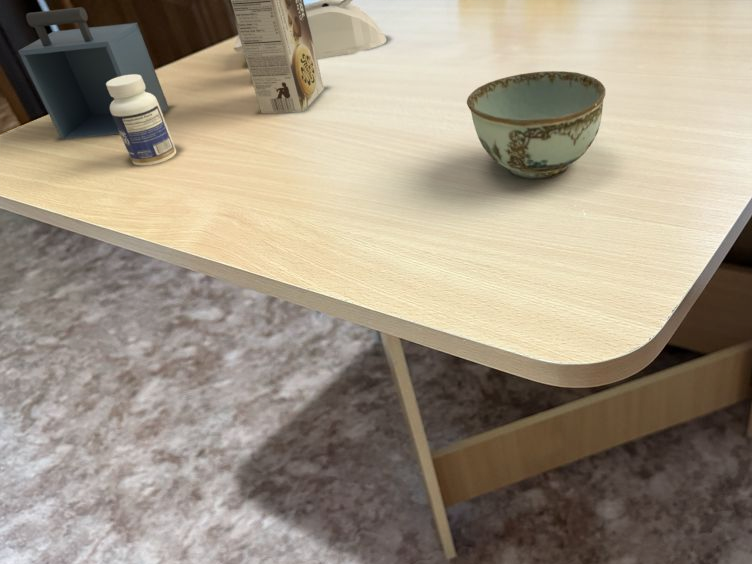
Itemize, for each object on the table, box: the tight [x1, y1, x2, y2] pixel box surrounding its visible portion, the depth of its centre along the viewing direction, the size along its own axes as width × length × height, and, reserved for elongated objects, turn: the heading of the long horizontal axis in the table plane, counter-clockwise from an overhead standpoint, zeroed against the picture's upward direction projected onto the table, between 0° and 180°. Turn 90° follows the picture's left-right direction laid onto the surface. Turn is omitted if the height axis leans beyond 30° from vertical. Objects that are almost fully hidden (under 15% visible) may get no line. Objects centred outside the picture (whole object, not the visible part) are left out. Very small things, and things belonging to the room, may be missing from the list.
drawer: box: [17, 6, 170, 140], centre depth 92 cm, size 16×12×9 cm
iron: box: [233, 0, 387, 59], centre depth 112 cm, size 11×24×15 cm, turn 99°
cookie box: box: [228, 0, 325, 114], centre depth 92 cm, size 9×6×16 cm
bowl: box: [466, 70, 606, 181], centre depth 70 cm, size 14×13×8 cm
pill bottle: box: [106, 74, 177, 166], centre depth 83 cm, size 5×5×10 cm
